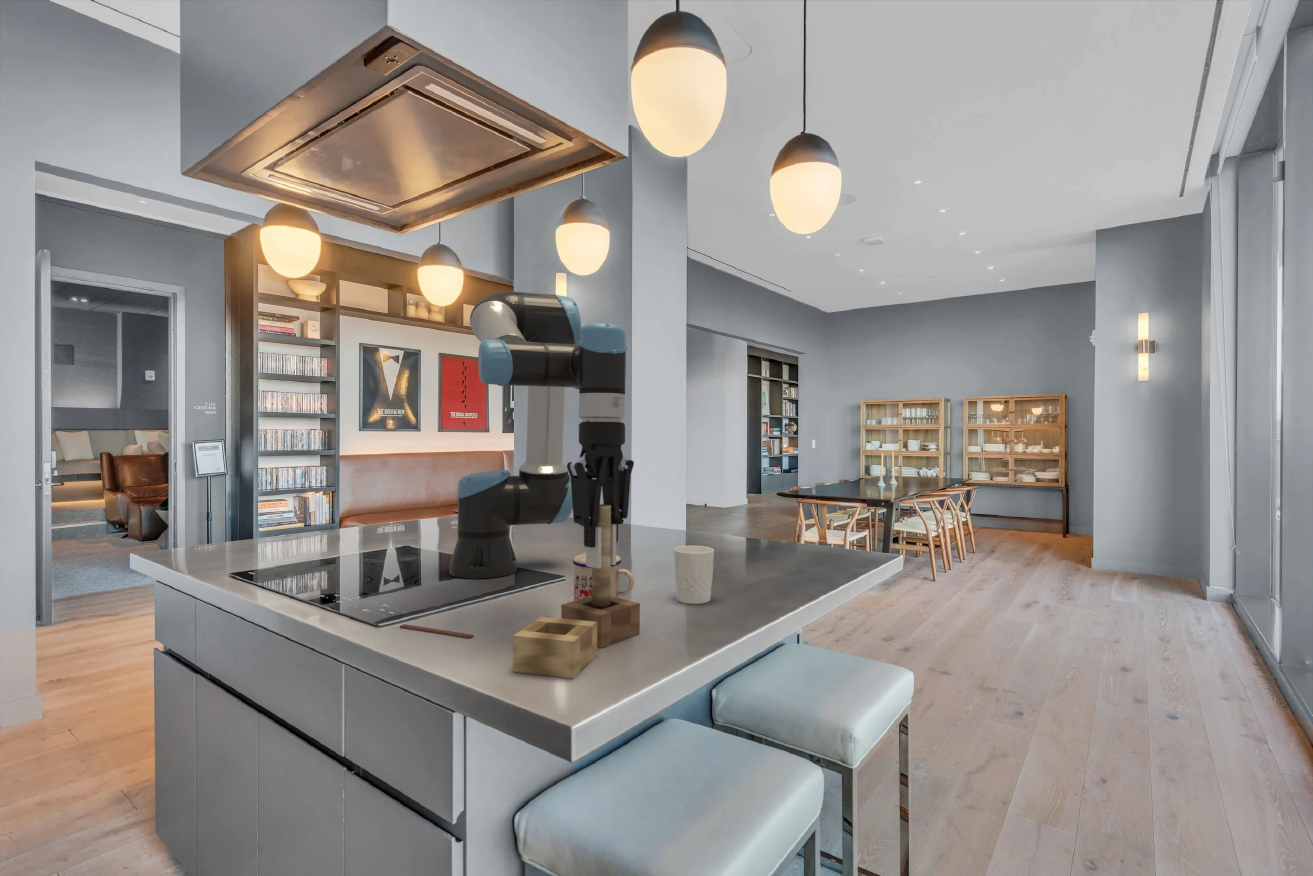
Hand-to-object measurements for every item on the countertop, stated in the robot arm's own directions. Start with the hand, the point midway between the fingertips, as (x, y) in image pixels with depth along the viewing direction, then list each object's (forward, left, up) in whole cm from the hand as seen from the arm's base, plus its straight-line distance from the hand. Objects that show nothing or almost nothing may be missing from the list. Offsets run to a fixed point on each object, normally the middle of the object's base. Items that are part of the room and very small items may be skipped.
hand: (601, 564), depth 102 cm
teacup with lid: (-11, +12, -12) cm, 20 cm away
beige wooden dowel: (0, 0, -6) cm, 6 cm away
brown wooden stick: (-21, -17, -11) cm, 29 cm away
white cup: (-1, +27, -12) cm, 29 cm away
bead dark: (0, 0, -11) cm, 11 cm away
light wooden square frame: (+4, -13, -11) cm, 18 cm away
